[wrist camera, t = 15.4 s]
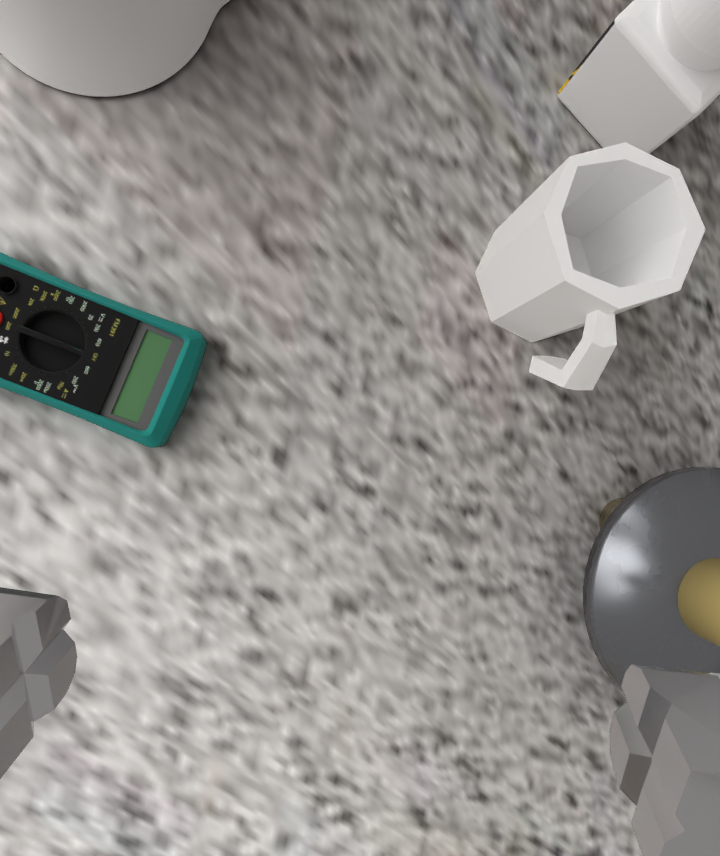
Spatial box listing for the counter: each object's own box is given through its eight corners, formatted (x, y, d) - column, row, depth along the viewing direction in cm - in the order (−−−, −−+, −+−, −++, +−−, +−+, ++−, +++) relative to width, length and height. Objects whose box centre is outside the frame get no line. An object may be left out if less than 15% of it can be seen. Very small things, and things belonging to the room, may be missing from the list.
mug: (477, 213, 36) (546, 132, 27) (598, 226, 37) (708, 152, 28) (470, 394, 36) (537, 379, 26) (592, 401, 37) (700, 389, 27)
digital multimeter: (-24, 245, 33) (-54, 226, 30) (213, 341, 34) (206, 332, 32) (-75, 358, 32) (-111, 350, 29) (168, 450, 34) (156, 451, 31)
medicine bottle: (621, 29, 38) (774, -157, 26) (689, 107, 38) (869, -40, 26) (553, 96, 37) (678, -64, 25) (623, 175, 38) (777, 54, 26)
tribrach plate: (540, 490, 37) (574, 497, 32) (752, 444, 39) (809, 446, 34) (584, 724, 37) (623, 762, 32) (793, 666, 39) (855, 695, 35)
